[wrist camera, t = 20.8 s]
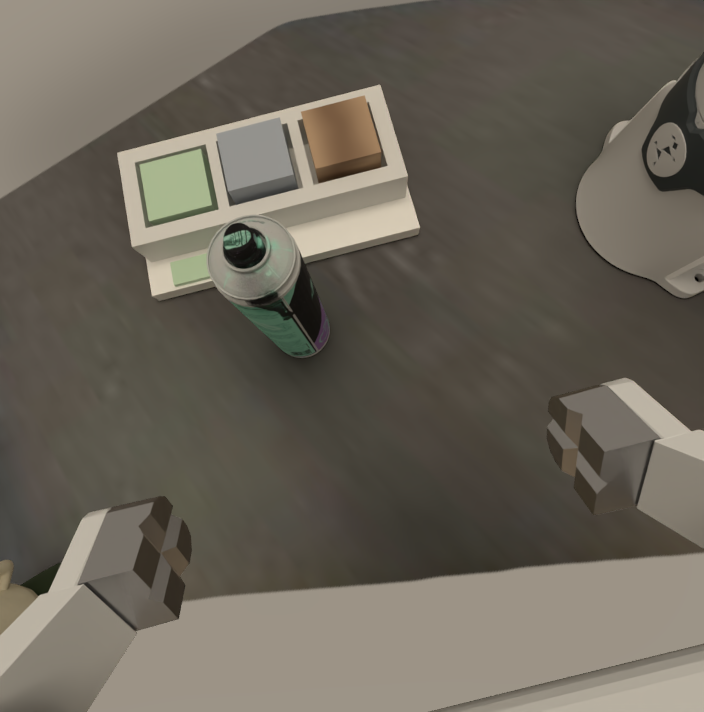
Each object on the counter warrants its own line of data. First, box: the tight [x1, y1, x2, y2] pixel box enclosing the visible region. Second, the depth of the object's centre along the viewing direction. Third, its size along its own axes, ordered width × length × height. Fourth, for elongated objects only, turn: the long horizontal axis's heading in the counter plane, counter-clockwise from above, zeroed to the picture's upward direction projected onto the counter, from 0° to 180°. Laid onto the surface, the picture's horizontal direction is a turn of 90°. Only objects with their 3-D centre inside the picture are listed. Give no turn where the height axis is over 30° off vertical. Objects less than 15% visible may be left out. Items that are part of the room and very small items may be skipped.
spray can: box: [206, 215, 330, 358], centre depth 32 cm, size 6×6×20 cm
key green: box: [140, 149, 219, 226], centre depth 42 cm, size 6×6×4 cm
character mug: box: [0, 560, 61, 635], centre depth 32 cm, size 11×7×13 cm, turn 172°
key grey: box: [216, 117, 299, 205], centre depth 40 cm, size 6×6×4 cm
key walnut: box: [301, 95, 381, 183], centre depth 40 cm, size 6×6×4 cm
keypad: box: [117, 85, 420, 301], centre depth 42 cm, size 27×14×5 cm, turn 104°
